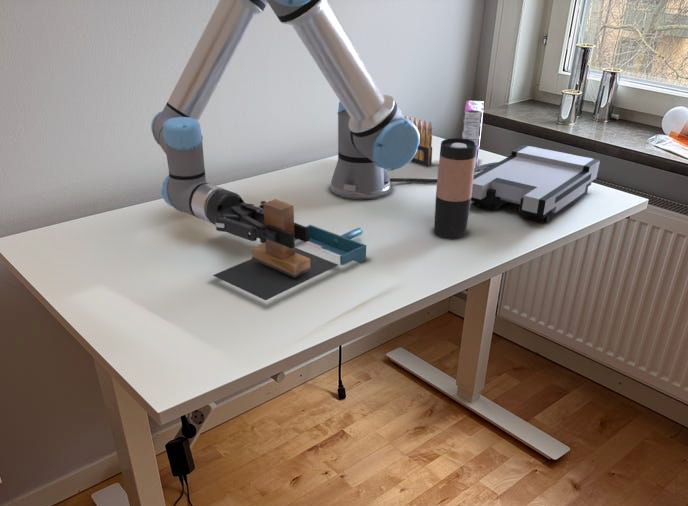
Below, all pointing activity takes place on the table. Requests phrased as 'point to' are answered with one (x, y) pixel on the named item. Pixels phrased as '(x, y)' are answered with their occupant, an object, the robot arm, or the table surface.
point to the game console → (535, 182)
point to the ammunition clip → (423, 143)
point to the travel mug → (454, 187)
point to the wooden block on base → (276, 253)
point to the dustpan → (339, 243)
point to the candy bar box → (473, 124)
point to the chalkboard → (271, 276)
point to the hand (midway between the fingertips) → (299, 238)
